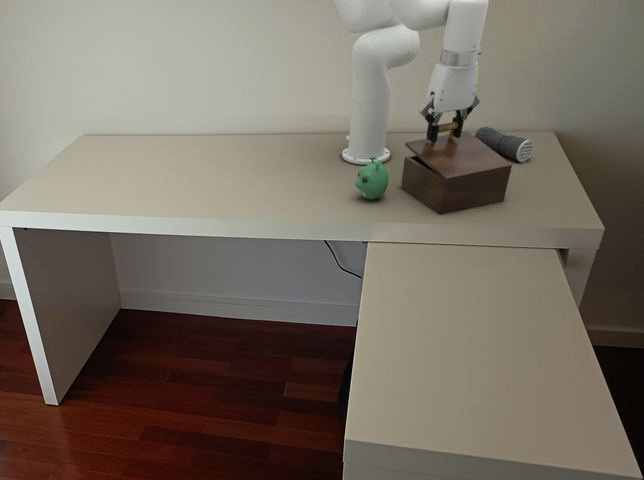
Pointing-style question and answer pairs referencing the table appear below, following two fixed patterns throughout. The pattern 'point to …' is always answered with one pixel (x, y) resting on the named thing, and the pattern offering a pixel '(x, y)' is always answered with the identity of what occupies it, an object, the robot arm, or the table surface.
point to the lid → (457, 154)
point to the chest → (452, 187)
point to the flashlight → (506, 143)
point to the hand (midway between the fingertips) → (443, 137)
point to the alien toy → (372, 180)
